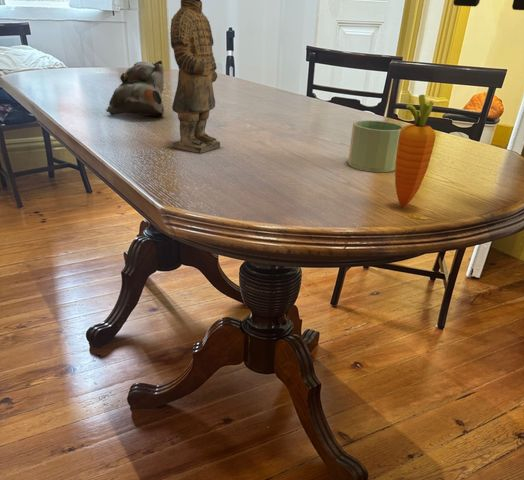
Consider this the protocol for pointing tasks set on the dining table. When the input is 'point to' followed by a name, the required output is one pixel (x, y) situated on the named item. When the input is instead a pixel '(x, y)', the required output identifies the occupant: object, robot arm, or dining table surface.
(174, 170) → the dining table surface
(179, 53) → the statue
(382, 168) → the holder
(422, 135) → the carrot
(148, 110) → the dark stacked lumps
